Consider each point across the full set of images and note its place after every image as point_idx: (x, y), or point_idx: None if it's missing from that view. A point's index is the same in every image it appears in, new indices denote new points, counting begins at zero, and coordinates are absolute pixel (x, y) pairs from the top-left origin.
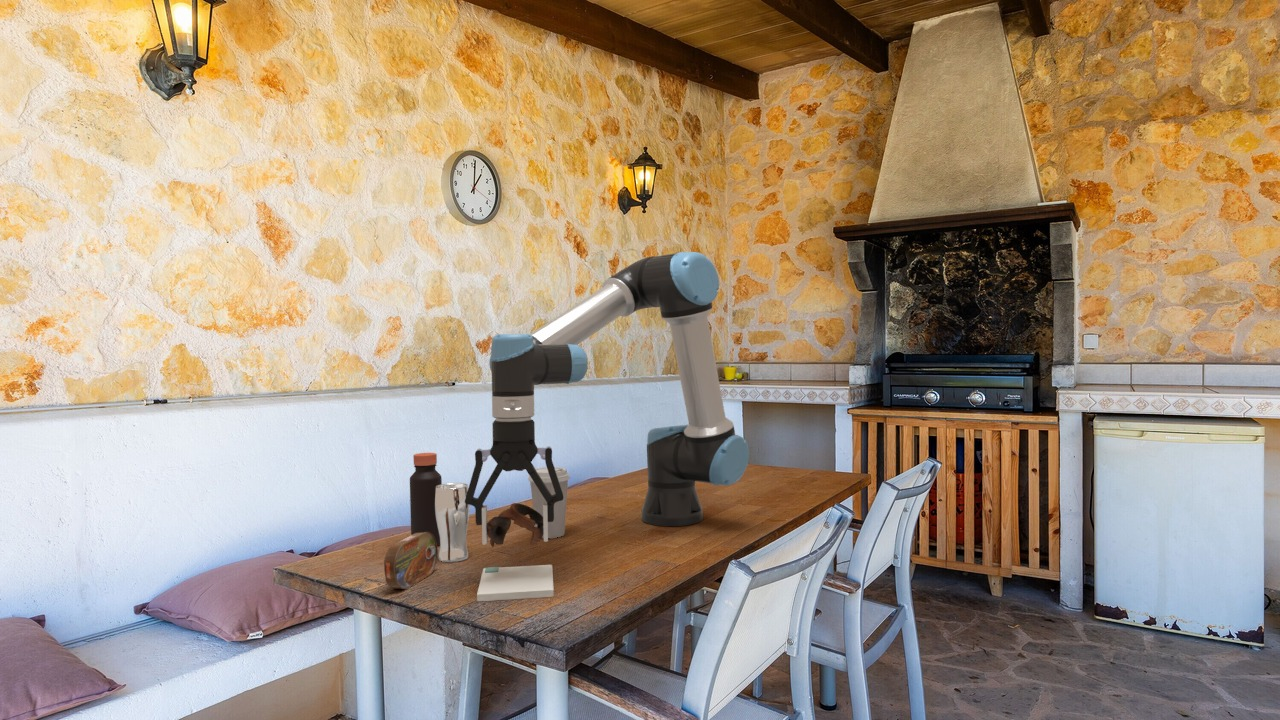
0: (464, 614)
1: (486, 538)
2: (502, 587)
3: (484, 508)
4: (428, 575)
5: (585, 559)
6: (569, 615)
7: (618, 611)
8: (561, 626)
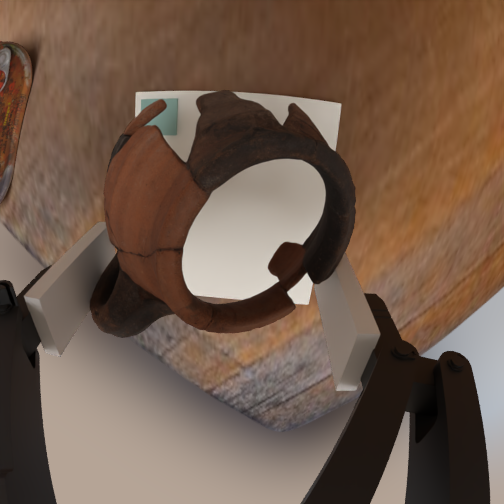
0: None
1: None
2: (194, 262)
3: (55, 354)
4: (28, 94)
5: (434, 40)
6: (313, 371)
7: None
8: (292, 397)
